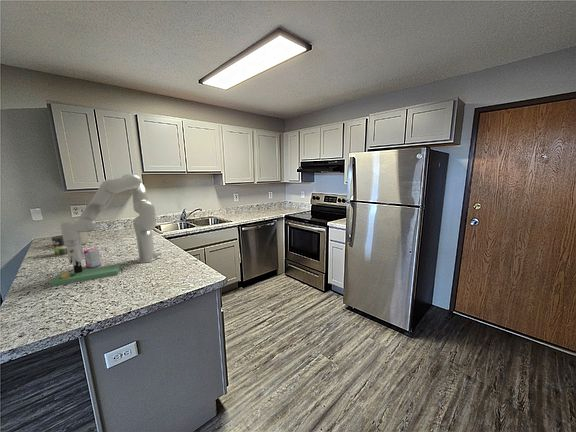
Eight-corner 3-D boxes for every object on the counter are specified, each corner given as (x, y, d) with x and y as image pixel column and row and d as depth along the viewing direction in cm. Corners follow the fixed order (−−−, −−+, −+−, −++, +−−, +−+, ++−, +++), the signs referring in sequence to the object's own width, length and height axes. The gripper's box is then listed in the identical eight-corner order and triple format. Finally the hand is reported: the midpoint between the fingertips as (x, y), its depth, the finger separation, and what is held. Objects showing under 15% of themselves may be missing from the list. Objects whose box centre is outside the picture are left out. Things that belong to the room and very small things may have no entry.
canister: (79, 247, 198) (74, 223, 194) (58, 248, 198) (53, 223, 194) (96, 241, 216) (92, 219, 212) (77, 241, 216) (73, 219, 212)
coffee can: (61, 257, 176) (57, 238, 173) (51, 256, 178) (47, 238, 175) (76, 252, 185) (73, 235, 183) (66, 251, 188) (63, 234, 185)
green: (120, 267, 153) (119, 264, 153) (117, 274, 143) (117, 270, 142) (58, 278, 139) (58, 274, 139) (51, 286, 129) (50, 282, 128)
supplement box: (101, 264, 159) (99, 248, 157) (92, 268, 153) (89, 251, 151) (95, 264, 160) (92, 248, 158) (86, 267, 155) (82, 250, 153)
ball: (61, 273, 136) (62, 279, 136) (59, 275, 132) (60, 282, 133) (70, 271, 138) (71, 278, 138) (68, 274, 134) (69, 280, 135)
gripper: (77, 244, 130) (83, 275, 134) (84, 238, 143) (89, 266, 146) (59, 246, 127) (66, 278, 130) (68, 240, 140) (74, 269, 143)
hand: (78, 272), depth 138 cm, fingers closed
